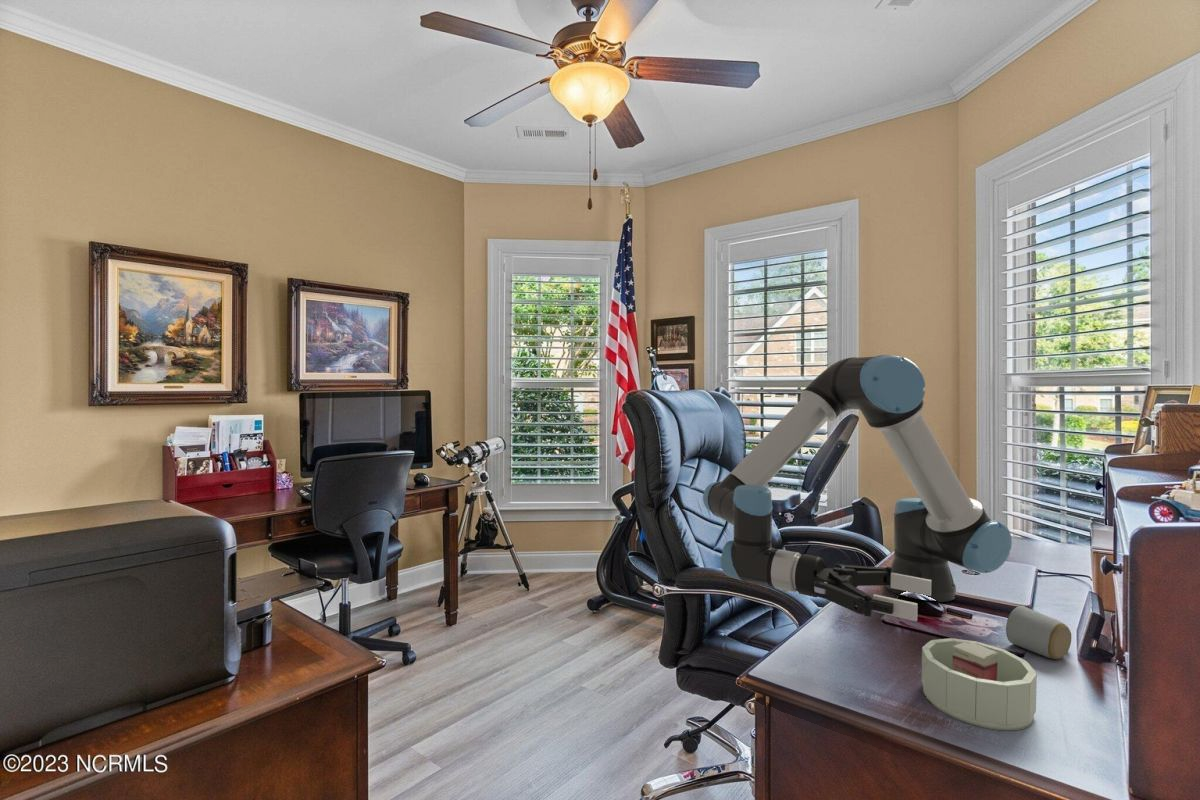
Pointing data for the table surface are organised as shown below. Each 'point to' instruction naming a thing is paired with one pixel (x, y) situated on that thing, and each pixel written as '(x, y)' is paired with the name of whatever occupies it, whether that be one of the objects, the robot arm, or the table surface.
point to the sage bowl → (980, 688)
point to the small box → (975, 661)
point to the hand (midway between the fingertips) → (924, 599)
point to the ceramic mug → (1038, 633)
